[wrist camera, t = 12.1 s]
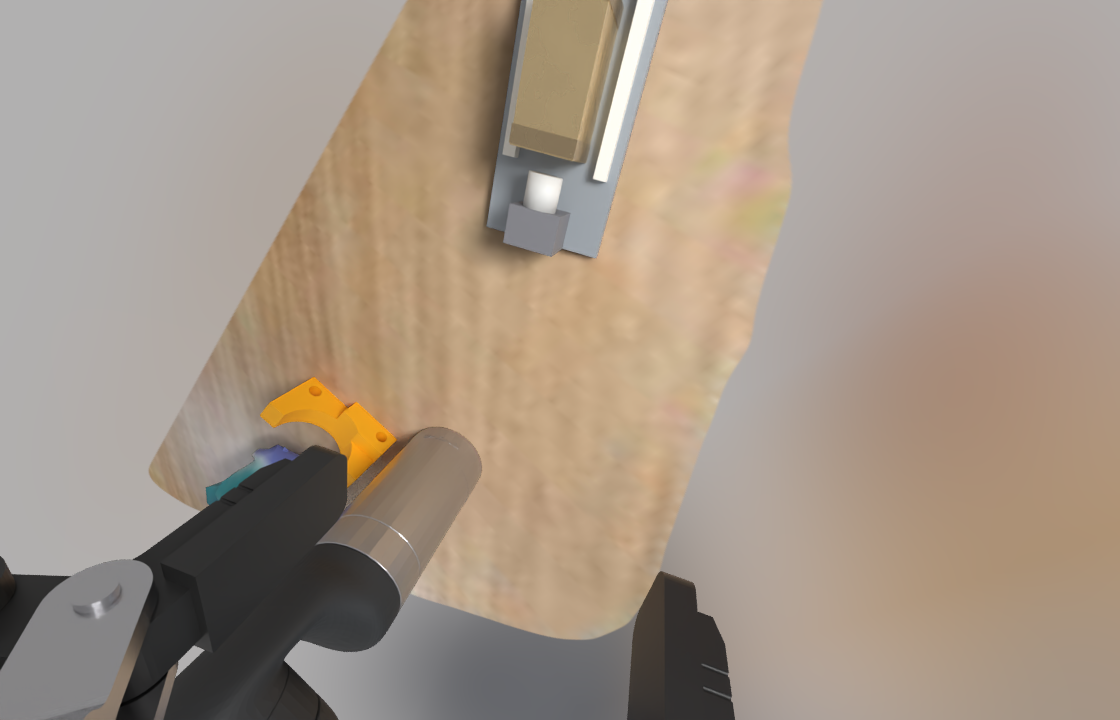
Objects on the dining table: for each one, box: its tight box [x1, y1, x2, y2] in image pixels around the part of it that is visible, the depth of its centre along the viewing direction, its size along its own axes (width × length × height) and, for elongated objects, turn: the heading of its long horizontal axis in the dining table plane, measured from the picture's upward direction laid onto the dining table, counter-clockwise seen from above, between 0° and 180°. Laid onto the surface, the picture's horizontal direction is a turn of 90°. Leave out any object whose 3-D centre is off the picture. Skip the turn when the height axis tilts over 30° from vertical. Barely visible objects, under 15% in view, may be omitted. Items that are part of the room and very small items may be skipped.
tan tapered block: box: [509, 0, 624, 163], centre depth 29 cm, size 10×5×6 cm, turn 166°
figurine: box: [206, 445, 299, 505], centre depth 52 cm, size 13×12×9 cm
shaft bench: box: [487, 0, 668, 258], centre depth 30 cm, size 24×10×5 cm, turn 166°
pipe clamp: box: [260, 377, 397, 488], centre depth 48 cm, size 12×4×6 cm, turn 44°
